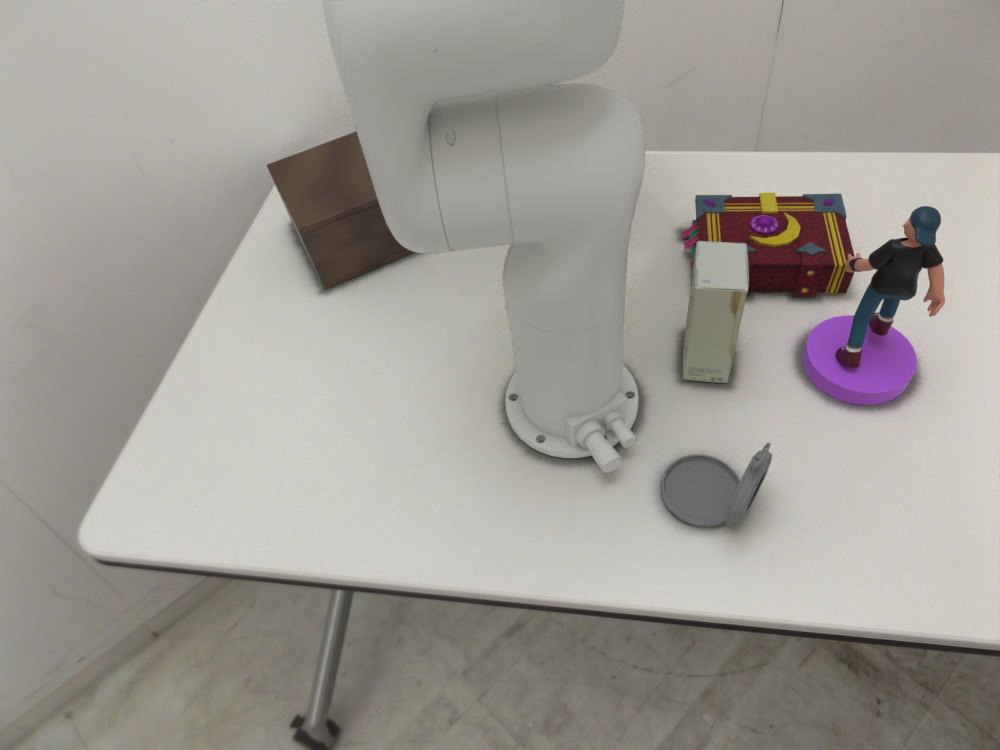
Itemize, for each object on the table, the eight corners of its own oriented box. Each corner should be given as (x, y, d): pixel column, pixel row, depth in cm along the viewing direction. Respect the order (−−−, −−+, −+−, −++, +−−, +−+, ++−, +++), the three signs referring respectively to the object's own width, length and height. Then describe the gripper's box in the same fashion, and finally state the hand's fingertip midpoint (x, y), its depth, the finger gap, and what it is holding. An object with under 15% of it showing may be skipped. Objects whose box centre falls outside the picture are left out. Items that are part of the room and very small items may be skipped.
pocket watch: (656, 461, 61) (664, 394, 53) (754, 458, 60) (777, 389, 52) (667, 548, 56) (678, 488, 48) (774, 546, 55) (803, 485, 47)
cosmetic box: (728, 385, 65) (749, 293, 56) (681, 381, 66) (694, 290, 56) (728, 334, 69) (748, 240, 59) (684, 331, 70) (696, 238, 60)
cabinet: (397, 183, 91) (379, 122, 84) (438, 242, 83) (422, 179, 76) (293, 224, 88) (266, 164, 81) (324, 290, 80) (297, 229, 73)
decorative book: (847, 298, 70) (861, 262, 66) (683, 296, 73) (688, 261, 69) (830, 225, 77) (842, 188, 73) (681, 226, 80) (685, 190, 76)
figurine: (899, 330, 67) (978, 173, 53) (919, 408, 61) (1013, 256, 47) (797, 326, 68) (847, 173, 54) (807, 401, 63) (866, 253, 49)
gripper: (586, -15, 68) (589, 145, 83) (518, -60, 77) (531, 92, 92) (519, 8, 67) (534, 168, 81) (457, -40, 76) (481, 111, 90)
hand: (532, 127), depth 86 cm, fingers closed
